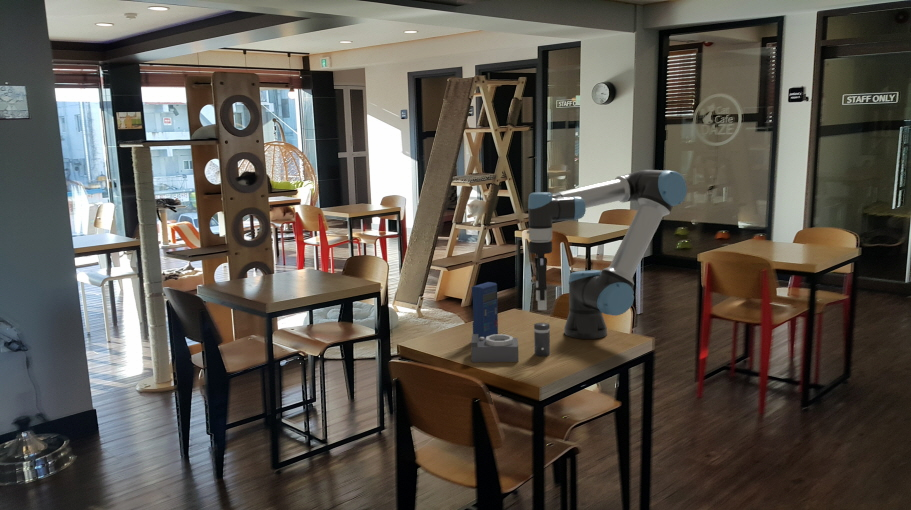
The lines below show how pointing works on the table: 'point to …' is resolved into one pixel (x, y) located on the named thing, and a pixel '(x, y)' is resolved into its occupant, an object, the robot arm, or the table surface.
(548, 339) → the lens
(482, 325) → the electronic device
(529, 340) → the table surface
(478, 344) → the camera body
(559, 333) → the table surface
